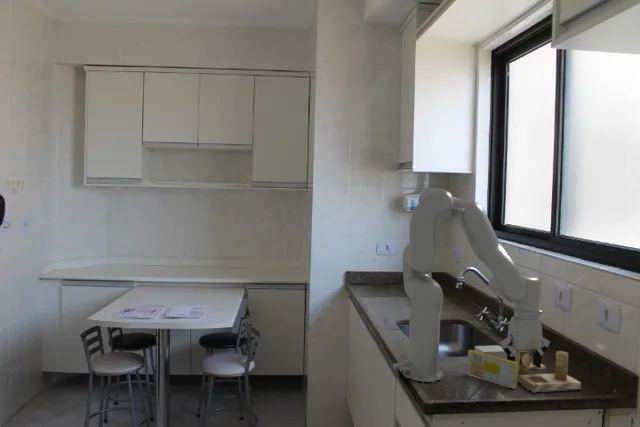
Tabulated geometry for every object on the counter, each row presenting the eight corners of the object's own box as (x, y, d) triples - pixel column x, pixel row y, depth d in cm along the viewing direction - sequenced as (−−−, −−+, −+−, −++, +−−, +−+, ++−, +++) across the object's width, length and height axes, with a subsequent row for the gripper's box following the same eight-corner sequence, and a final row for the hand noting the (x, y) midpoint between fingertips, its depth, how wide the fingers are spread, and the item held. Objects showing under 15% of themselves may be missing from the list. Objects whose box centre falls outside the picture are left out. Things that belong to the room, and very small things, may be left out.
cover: (482, 369, 170) (483, 351, 170) (474, 363, 176) (474, 346, 176) (507, 368, 172) (508, 351, 171) (497, 362, 178) (498, 345, 177)
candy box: (517, 389, 155) (519, 362, 154) (514, 390, 153) (515, 363, 153) (469, 373, 166) (470, 348, 166) (465, 375, 165) (467, 350, 164)
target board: (533, 393, 151) (534, 358, 151) (517, 382, 159) (519, 349, 159) (580, 390, 154) (582, 356, 154) (563, 380, 162) (565, 348, 162)
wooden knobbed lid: (526, 370, 171) (527, 358, 171) (519, 365, 175) (520, 354, 174) (545, 369, 172) (546, 357, 172) (538, 365, 176) (538, 353, 176)
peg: (521, 378, 163) (522, 353, 163) (515, 374, 166) (516, 350, 166) (530, 377, 164) (532, 353, 163) (524, 374, 167) (526, 350, 167)
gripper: (543, 310, 169) (540, 361, 170) (495, 311, 166) (493, 363, 167) (558, 316, 162) (555, 369, 163) (508, 318, 159) (505, 372, 160)
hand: (523, 366), depth 165 cm, fingers open, 8 cm apart
